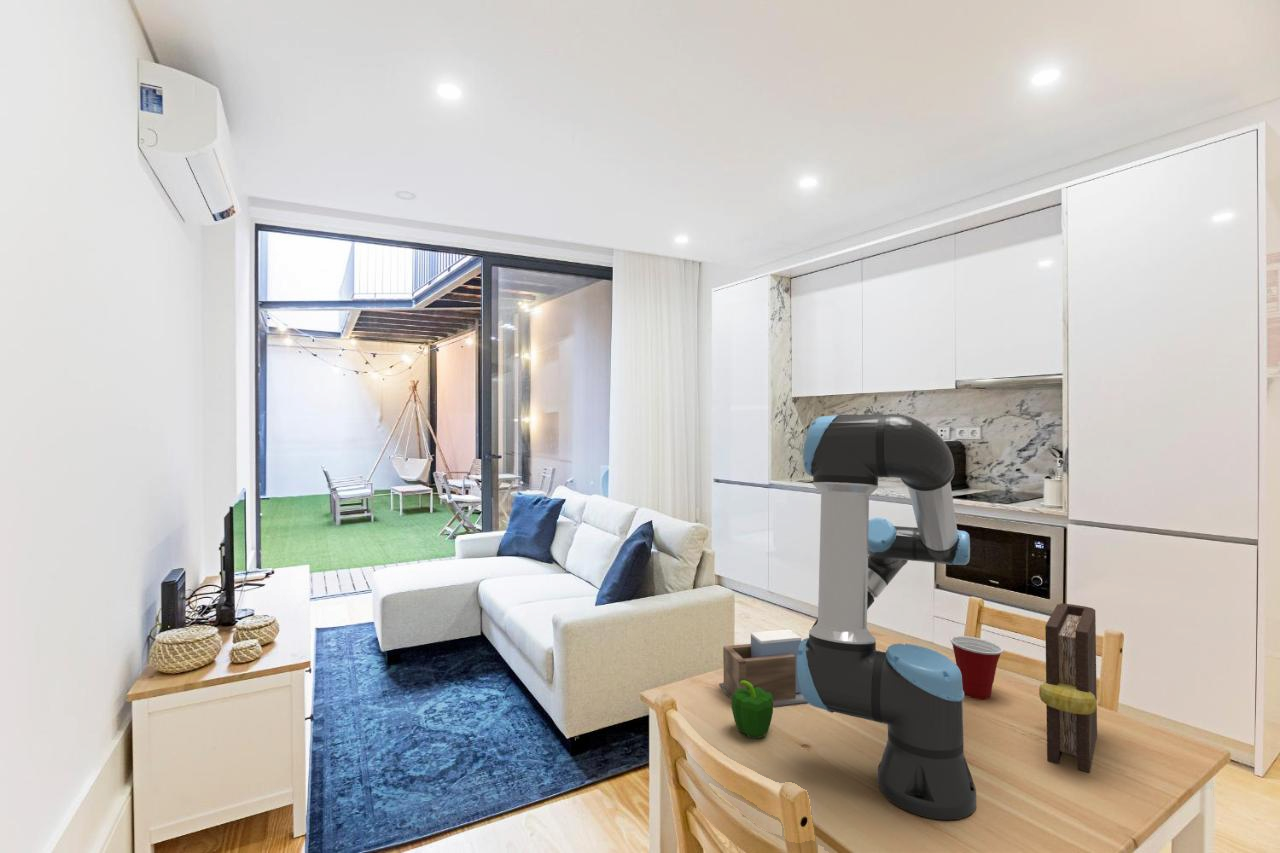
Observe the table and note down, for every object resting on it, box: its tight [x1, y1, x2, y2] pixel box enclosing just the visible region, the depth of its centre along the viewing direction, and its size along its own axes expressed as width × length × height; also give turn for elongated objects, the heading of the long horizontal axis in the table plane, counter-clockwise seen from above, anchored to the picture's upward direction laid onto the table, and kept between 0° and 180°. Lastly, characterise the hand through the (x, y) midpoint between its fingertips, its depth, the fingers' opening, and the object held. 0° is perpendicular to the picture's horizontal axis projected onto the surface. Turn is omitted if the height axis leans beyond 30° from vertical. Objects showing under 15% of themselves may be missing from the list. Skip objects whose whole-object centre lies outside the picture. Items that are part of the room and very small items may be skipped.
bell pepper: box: [731, 680, 774, 739], centre depth 123 cm, size 8×8×10 cm
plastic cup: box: [949, 635, 1004, 700], centre depth 140 cm, size 11×11×12 cm
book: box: [1038, 603, 1098, 774], centre depth 116 cm, size 22×8×25 cm, turn 139°
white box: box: [750, 628, 802, 693], centre depth 142 cm, size 6×10×13 cm, turn 103°
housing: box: [718, 643, 809, 708], centre depth 141 cm, size 14×18×10 cm
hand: (800, 663), depth 143 cm, fingers closed
